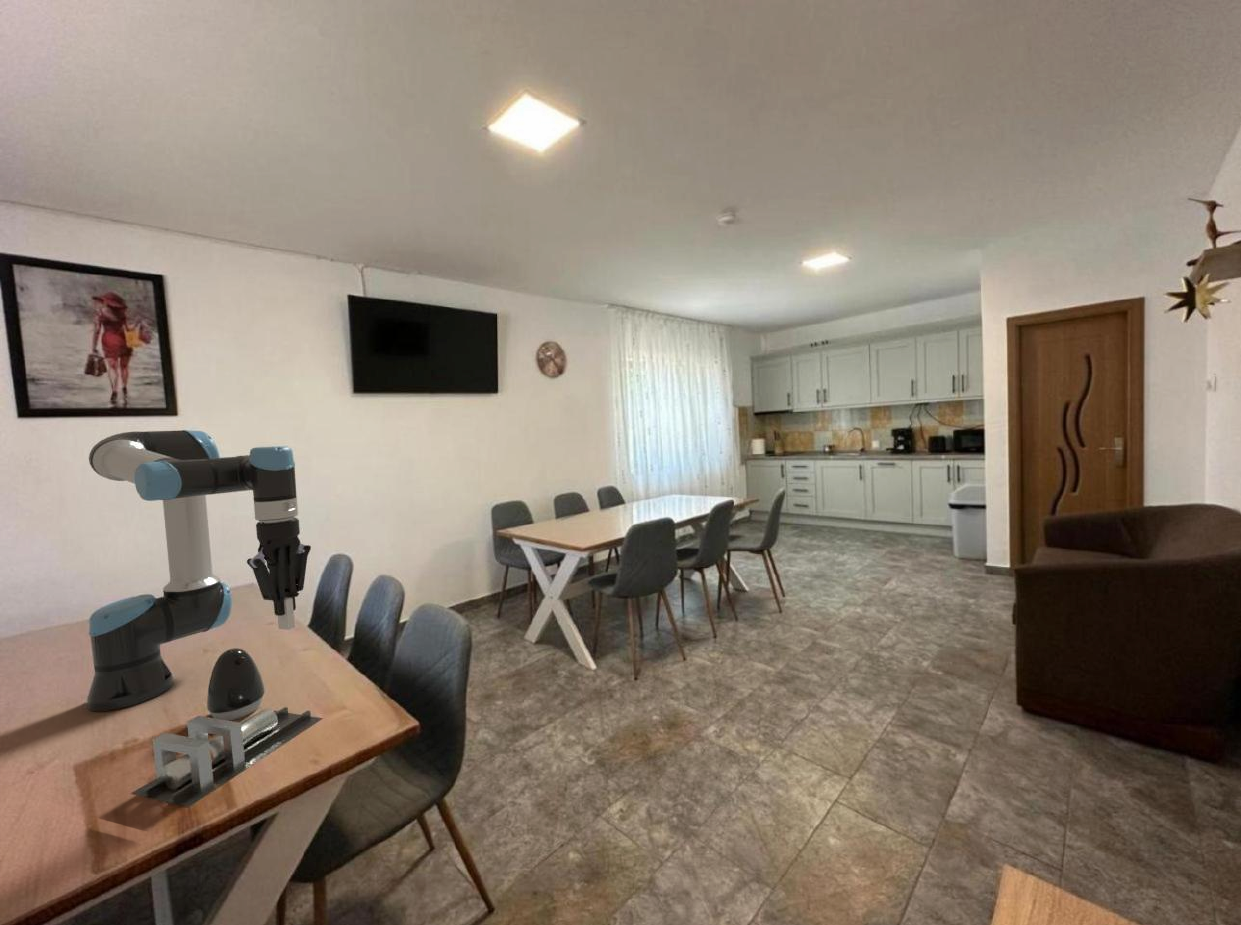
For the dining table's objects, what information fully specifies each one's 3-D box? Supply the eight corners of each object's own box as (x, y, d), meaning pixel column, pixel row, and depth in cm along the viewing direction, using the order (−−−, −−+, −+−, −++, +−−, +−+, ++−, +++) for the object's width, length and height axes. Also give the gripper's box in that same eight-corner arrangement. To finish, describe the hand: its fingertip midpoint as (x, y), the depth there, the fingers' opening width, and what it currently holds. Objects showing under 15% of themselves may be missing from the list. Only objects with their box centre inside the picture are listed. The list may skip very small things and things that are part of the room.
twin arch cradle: (131, 798, 87) (125, 748, 86) (274, 714, 112) (270, 675, 111) (188, 812, 83) (182, 760, 82) (323, 722, 107) (319, 682, 107)
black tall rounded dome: (221, 734, 105) (213, 663, 104) (201, 721, 110) (193, 654, 109) (275, 710, 114) (268, 644, 113) (254, 698, 119) (247, 636, 118)
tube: (183, 786, 86) (173, 762, 87) (167, 791, 88) (158, 767, 88) (280, 725, 103) (272, 705, 104) (266, 731, 105) (258, 711, 105)
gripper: (260, 526, 99) (271, 642, 101) (318, 514, 111) (326, 617, 113) (232, 525, 101) (243, 638, 103) (292, 513, 113) (300, 615, 115)
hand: (286, 627), depth 108 cm, fingers closed
